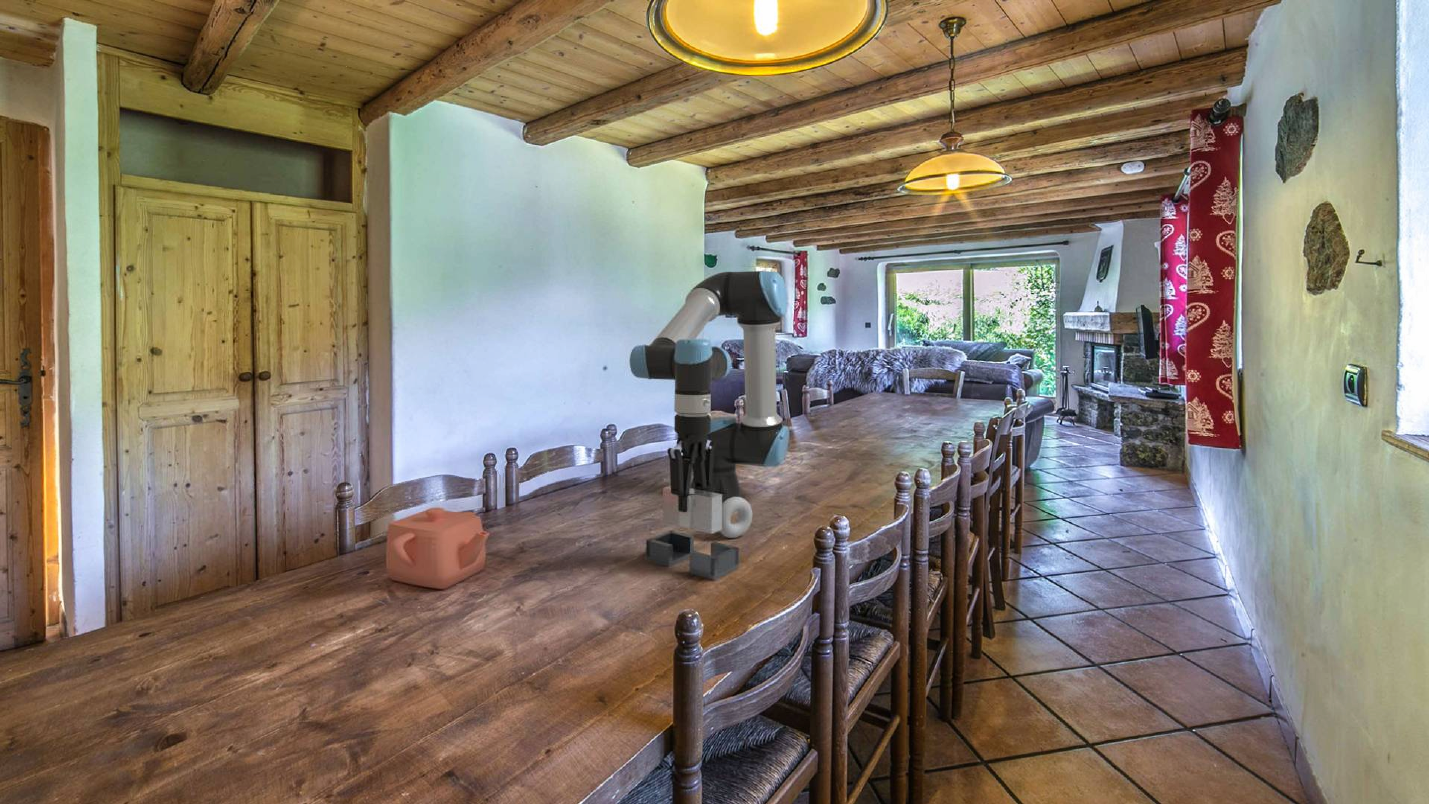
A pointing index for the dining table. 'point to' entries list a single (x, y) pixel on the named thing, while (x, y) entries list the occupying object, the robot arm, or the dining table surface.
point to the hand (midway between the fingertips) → (691, 523)
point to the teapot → (435, 548)
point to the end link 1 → (669, 548)
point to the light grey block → (695, 510)
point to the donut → (743, 518)
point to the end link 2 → (715, 561)
